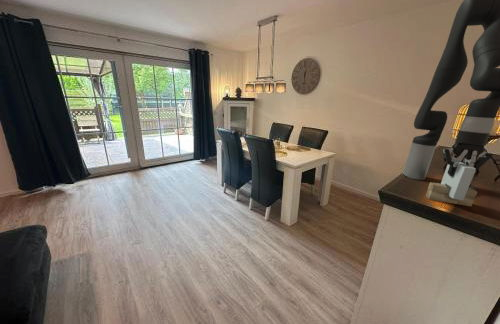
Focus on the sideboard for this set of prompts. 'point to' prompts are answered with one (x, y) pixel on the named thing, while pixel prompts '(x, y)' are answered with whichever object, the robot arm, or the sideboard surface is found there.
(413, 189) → the sideboard surface
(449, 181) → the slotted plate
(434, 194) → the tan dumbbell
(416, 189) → the sideboard surface
